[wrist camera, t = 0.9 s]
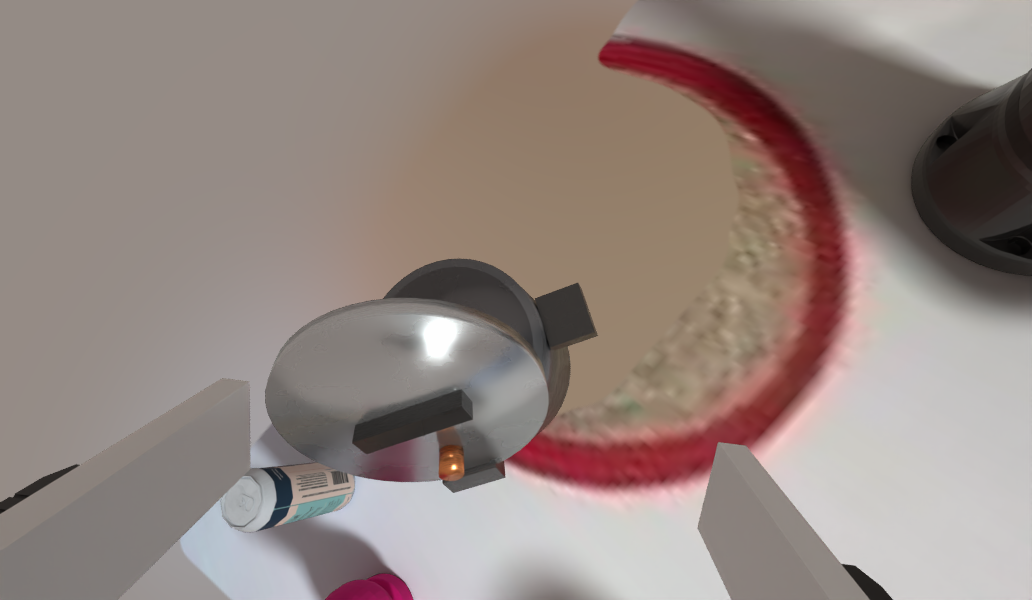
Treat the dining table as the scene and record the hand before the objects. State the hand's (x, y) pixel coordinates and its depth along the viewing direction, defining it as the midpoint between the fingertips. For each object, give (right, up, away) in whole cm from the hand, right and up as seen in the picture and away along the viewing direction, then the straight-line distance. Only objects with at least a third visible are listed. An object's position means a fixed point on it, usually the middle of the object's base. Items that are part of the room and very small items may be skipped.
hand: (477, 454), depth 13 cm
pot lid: (-5, -2, +16) cm, 17 cm away
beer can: (-17, -14, +35) cm, 42 cm away
